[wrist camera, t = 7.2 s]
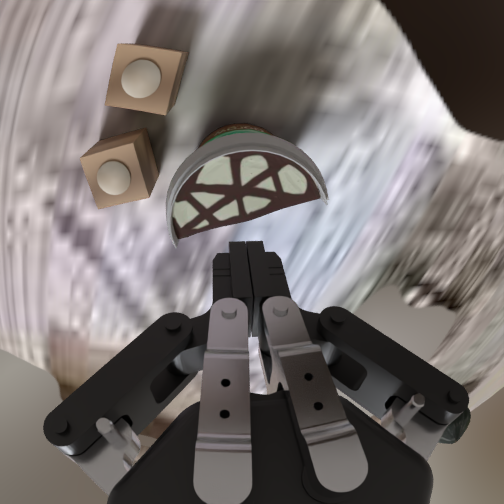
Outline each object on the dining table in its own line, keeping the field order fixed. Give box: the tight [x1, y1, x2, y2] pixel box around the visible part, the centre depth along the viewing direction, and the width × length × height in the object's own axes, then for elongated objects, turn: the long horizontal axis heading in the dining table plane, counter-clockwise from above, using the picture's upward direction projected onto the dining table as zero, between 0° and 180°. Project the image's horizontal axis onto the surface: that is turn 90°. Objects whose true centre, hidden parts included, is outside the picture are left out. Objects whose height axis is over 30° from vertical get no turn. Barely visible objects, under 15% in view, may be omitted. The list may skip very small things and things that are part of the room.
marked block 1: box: [105, 44, 189, 115], centre depth 22 cm, size 5×5×5 cm
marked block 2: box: [80, 128, 159, 209], centre depth 26 cm, size 5×5×5 cm
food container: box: [166, 123, 329, 248], centre depth 25 cm, size 12×6×10 cm, turn 106°
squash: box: [438, 407, 471, 444], centre depth 72 cm, size 14×15×15 cm
